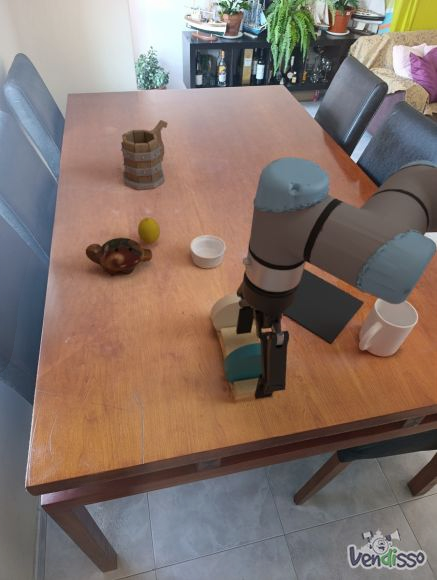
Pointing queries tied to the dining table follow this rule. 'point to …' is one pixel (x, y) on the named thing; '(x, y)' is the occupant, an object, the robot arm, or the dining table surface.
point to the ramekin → (207, 251)
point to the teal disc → (243, 363)
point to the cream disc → (226, 312)
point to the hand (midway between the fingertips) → (252, 361)
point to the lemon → (148, 230)
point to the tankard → (143, 157)
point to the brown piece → (118, 255)
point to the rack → (229, 343)
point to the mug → (387, 327)
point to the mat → (322, 307)
